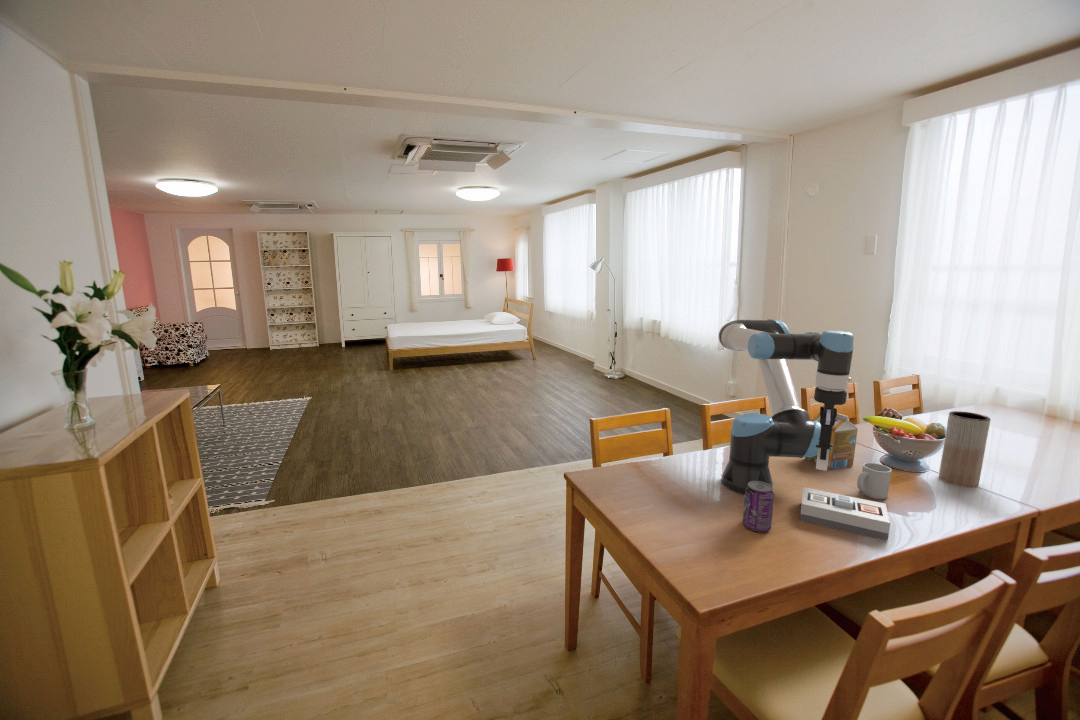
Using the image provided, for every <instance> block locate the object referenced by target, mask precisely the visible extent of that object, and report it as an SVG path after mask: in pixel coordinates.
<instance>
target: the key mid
mask: <svg viewBox="0 0 1080 720" xmlns="http://www.w3.org/2000/svg"><path fill="white" fill-rule="evenodd" d="M835 494H836V495H835V504H834V505H835V506H837V507H842V508H847V509H853V498H852V497H853V496H850V497H847V496H848V495H845V496H842V495H843V494H840V495H837V494H838V493H835Z"/></svg>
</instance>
